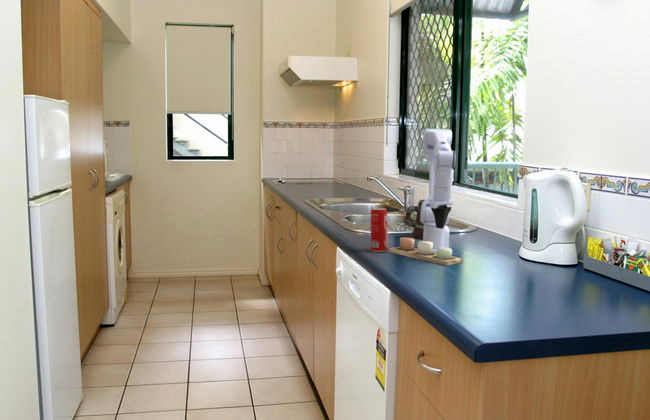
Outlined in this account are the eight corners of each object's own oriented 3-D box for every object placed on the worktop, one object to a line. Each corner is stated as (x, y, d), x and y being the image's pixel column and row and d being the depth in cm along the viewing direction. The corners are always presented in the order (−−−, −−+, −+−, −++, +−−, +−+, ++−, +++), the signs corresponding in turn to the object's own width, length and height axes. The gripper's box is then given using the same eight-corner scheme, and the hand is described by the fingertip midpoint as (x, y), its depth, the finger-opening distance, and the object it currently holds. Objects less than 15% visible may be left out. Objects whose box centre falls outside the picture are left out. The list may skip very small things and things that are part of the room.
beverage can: (386, 253, 211) (388, 210, 209) (367, 251, 212) (369, 208, 211) (388, 250, 217) (390, 208, 215) (369, 248, 218) (372, 206, 216)
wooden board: (405, 249, 220) (405, 246, 220) (463, 262, 201) (463, 258, 201) (388, 251, 214) (388, 248, 214) (446, 265, 195) (446, 261, 195)
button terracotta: (406, 246, 217) (406, 236, 216) (417, 249, 213) (417, 239, 213) (396, 248, 213) (397, 238, 213) (407, 250, 210) (408, 240, 209)
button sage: (442, 257, 205) (443, 247, 204) (454, 260, 201) (455, 249, 201) (432, 259, 202) (433, 248, 201) (445, 261, 198) (445, 251, 197)
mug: (436, 235, 254) (438, 199, 252) (445, 240, 242) (448, 202, 240) (399, 234, 252) (401, 198, 250) (407, 239, 240) (409, 201, 238)
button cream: (423, 250, 211) (424, 240, 210) (435, 253, 207) (436, 242, 207) (414, 252, 207) (414, 241, 207) (425, 254, 204) (426, 244, 203)
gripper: (440, 185, 210) (437, 224, 212) (422, 187, 198) (419, 228, 200) (459, 186, 206) (456, 226, 208) (442, 189, 194) (439, 231, 196)
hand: (439, 228), depth 204 cm, fingers closed
